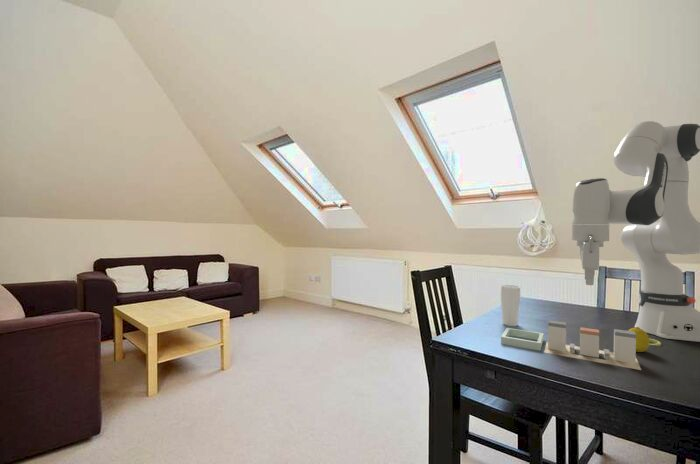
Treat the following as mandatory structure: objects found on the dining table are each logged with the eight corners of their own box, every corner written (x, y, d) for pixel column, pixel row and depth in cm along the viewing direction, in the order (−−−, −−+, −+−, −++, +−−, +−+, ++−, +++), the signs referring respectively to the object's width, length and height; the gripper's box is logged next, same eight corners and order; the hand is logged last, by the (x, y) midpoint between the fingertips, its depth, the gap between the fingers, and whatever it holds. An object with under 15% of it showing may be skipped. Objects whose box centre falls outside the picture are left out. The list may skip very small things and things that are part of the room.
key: (642, 335, 119) (642, 329, 119) (664, 348, 107) (664, 341, 107) (618, 333, 121) (618, 327, 121) (637, 346, 109) (637, 339, 109)
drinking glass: (522, 329, 125) (522, 288, 125) (502, 328, 126) (503, 287, 126) (517, 323, 132) (517, 285, 131) (498, 322, 133) (498, 284, 133)
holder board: (635, 358, 97) (635, 356, 97) (641, 373, 88) (641, 370, 88) (546, 343, 110) (546, 341, 110) (544, 355, 101) (544, 352, 101)
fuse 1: (565, 348, 103) (566, 322, 103) (565, 351, 101) (565, 325, 101) (548, 345, 106) (548, 320, 106) (548, 348, 103) (548, 322, 103)
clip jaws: (608, 358, 98) (608, 349, 98) (609, 362, 95) (609, 354, 95) (569, 351, 103) (570, 343, 103) (569, 355, 100) (569, 347, 100)
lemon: (640, 358, 98) (640, 330, 98) (620, 351, 103) (620, 325, 103) (654, 355, 100) (654, 328, 99) (633, 349, 105) (634, 323, 105)
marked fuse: (598, 357, 99) (598, 329, 99) (598, 360, 97) (599, 332, 96) (579, 353, 102) (580, 327, 101) (579, 357, 99) (580, 329, 99)
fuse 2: (633, 360, 95) (634, 331, 94) (635, 364, 92) (636, 334, 92) (613, 356, 97) (613, 328, 97) (614, 360, 95) (615, 331, 94)
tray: (543, 342, 111) (543, 333, 111) (540, 353, 102) (540, 343, 102) (506, 336, 117) (506, 327, 117) (500, 345, 108) (501, 336, 108)
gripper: (606, 236, 88) (605, 289, 88) (601, 234, 105) (600, 278, 105) (577, 235, 91) (575, 286, 92) (576, 233, 108) (575, 276, 109)
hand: (588, 282), depth 99 cm, fingers open, 8 cm apart
